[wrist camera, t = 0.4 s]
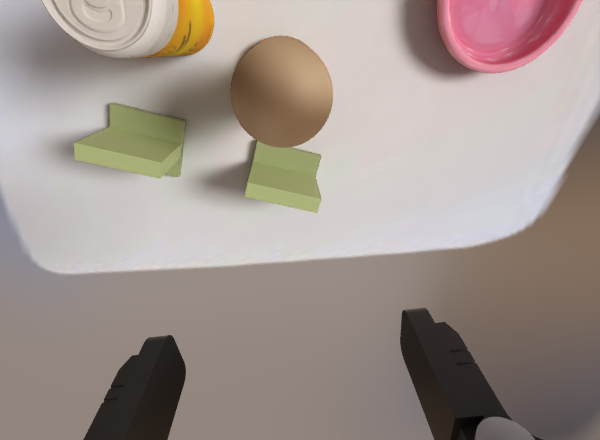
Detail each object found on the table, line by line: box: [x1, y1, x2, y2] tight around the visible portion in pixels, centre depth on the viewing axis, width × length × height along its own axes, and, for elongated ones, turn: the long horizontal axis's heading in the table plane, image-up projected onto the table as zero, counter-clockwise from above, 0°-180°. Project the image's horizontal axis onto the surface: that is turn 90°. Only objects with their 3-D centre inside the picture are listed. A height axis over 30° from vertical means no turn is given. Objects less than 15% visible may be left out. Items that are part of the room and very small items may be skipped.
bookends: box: [74, 103, 321, 213], centre depth 31 cm, size 6×22×7 cm, turn 75°
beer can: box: [42, 0, 214, 59], centre depth 22 cm, size 6×6×15 cm
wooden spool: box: [231, 36, 333, 148], centre depth 27 cm, size 8×8×11 cm
